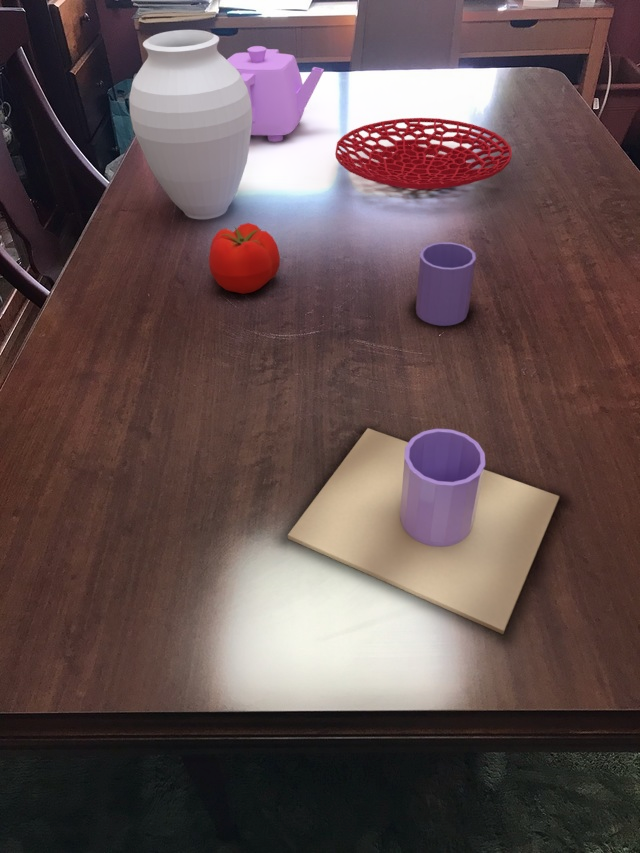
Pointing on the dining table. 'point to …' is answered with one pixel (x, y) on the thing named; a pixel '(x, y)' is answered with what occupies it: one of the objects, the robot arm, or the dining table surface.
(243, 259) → the tomato
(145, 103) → the vase
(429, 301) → the lilac cup
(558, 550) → the dining table surface
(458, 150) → the bowl
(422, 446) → the lavender cup
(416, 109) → the dining table surface
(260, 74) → the teapot
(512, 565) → the mat
